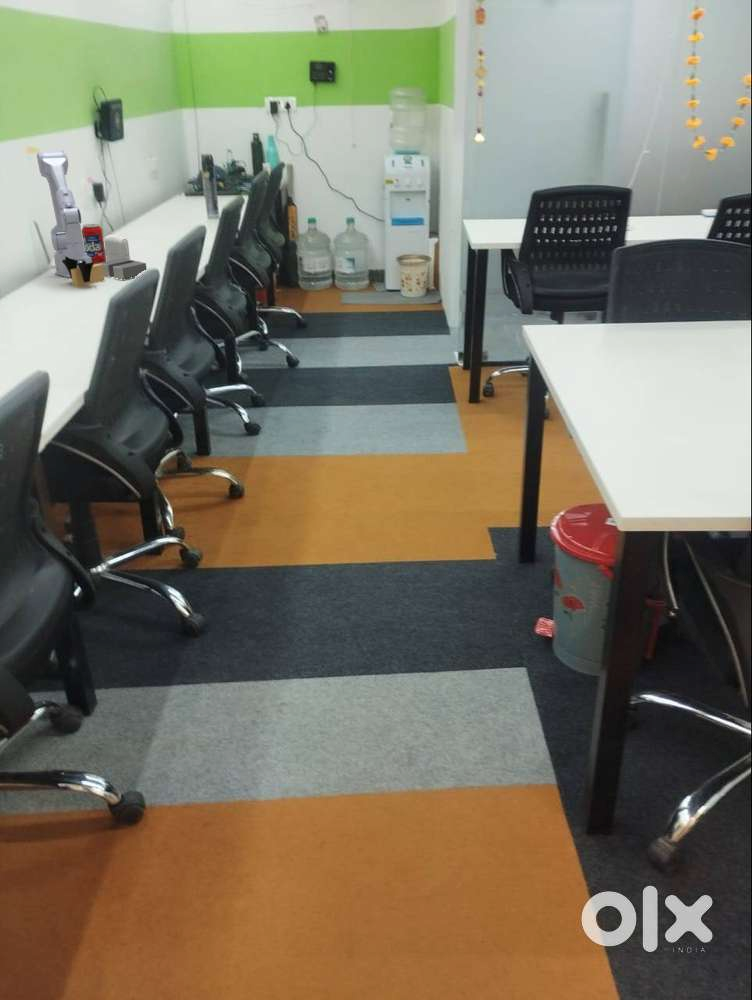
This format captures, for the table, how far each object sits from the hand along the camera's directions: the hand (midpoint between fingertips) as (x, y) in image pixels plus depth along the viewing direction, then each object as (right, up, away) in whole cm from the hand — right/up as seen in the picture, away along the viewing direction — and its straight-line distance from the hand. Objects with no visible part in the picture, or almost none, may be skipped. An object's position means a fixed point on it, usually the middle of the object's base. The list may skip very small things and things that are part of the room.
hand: (80, 280), depth 310 cm
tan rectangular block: (+2, 0, +3) cm, 4 cm away
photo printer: (+6, +12, +27) cm, 30 cm away
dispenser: (+12, +6, +14) cm, 20 cm away
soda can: (-5, +15, +32) cm, 35 cm away
